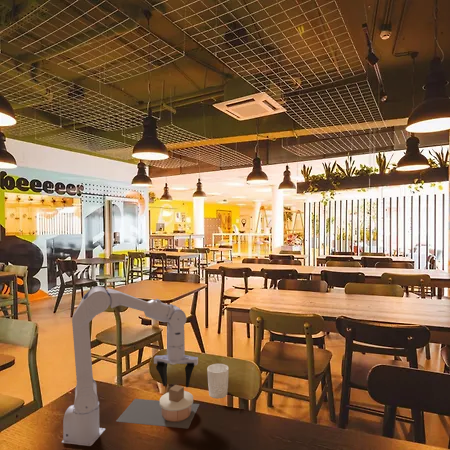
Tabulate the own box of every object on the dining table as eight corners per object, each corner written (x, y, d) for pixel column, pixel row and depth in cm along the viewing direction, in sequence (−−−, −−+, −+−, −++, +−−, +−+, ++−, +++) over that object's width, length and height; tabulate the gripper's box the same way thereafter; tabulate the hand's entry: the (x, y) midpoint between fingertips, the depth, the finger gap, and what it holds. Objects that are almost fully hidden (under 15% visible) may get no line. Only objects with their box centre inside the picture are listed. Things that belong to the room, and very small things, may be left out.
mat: (115, 422, 105) (115, 421, 105) (135, 400, 119) (135, 398, 119) (188, 430, 101) (188, 428, 101) (199, 405, 114) (199, 404, 114)
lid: (152, 405, 106) (152, 391, 106) (172, 390, 116) (172, 377, 116) (180, 414, 101) (180, 399, 101) (199, 397, 111) (199, 384, 111)
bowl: (158, 420, 105) (158, 408, 105) (168, 405, 114) (168, 393, 114) (185, 423, 103) (185, 410, 103) (193, 407, 112) (193, 395, 112)
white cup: (215, 403, 116) (215, 374, 116) (203, 394, 122) (203, 367, 122) (233, 396, 121) (232, 368, 121) (220, 387, 127) (220, 361, 127)
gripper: (150, 347, 106) (150, 390, 105) (194, 349, 104) (195, 392, 104) (157, 340, 113) (158, 380, 112) (199, 341, 111) (199, 382, 111)
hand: (176, 385), depth 109 cm, fingers open, 7 cm apart
